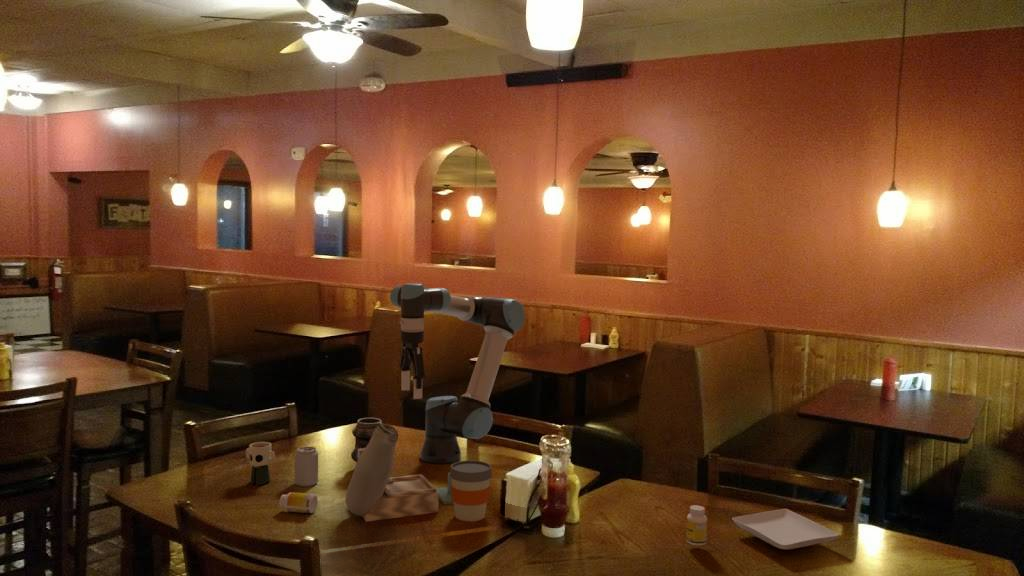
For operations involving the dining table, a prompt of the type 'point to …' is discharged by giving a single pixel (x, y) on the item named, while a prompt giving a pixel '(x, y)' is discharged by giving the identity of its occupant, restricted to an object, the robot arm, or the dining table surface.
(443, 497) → the cover
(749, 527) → the salad plate
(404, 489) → the latch box
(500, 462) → the dining table surface
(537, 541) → the dining table surface
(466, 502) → the reusable coffee cup
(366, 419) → the apothecary jar
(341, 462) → the dining table surface
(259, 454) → the character mug
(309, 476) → the can
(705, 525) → the supplement bottle
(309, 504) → the supplement bottle
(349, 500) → the brown rounded cylinder
